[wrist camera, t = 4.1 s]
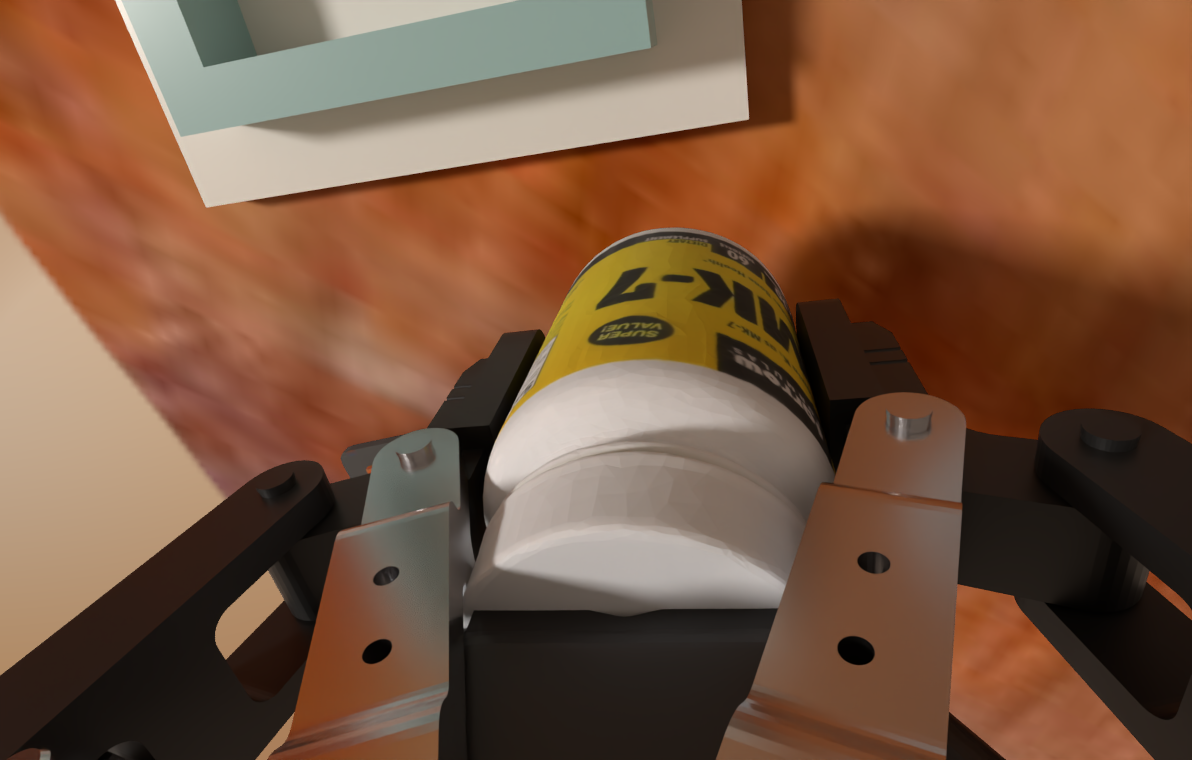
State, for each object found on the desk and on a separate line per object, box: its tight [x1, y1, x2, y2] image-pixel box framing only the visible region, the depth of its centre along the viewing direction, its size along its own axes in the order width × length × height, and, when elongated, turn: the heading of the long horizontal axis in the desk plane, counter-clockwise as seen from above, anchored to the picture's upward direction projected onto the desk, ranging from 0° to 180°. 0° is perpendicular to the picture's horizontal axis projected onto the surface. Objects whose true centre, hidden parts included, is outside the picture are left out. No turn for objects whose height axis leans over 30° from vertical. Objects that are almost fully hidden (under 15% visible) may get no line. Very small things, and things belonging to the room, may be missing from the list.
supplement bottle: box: [463, 228, 836, 628], centre depth 10 cm, size 5×5×8 cm
